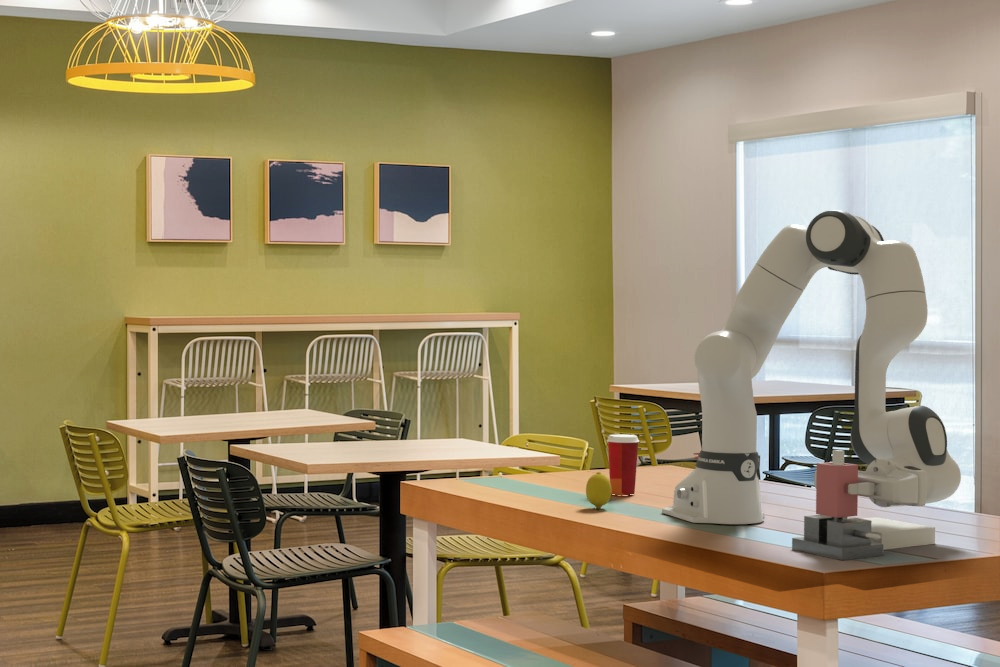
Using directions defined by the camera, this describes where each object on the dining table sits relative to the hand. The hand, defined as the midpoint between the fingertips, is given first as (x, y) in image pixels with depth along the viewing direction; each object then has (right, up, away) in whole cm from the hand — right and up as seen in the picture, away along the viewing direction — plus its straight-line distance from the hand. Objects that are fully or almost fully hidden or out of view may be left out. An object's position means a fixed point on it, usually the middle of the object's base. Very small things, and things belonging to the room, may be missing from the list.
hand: (833, 486), depth 217 cm
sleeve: (+1, -5, 0) cm, 5 cm away
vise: (+2, -12, -1) cm, 12 cm away
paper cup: (-30, -11, +73) cm, 80 cm away
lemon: (-38, -11, +50) cm, 63 cm away
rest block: (+12, -12, +13) cm, 21 cm away
